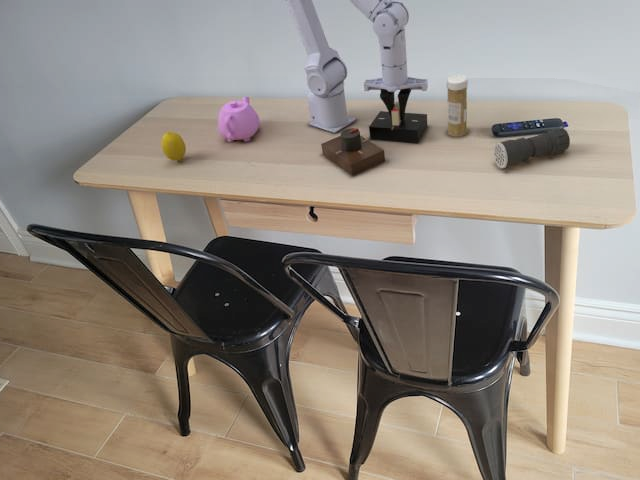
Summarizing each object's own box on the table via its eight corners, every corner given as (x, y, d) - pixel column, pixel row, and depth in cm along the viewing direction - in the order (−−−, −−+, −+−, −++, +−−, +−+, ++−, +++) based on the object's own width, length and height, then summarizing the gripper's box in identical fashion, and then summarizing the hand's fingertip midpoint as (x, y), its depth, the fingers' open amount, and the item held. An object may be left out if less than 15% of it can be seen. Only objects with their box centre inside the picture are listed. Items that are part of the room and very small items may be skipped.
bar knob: (397, 114, 139) (396, 100, 137) (403, 114, 139) (402, 100, 137) (392, 125, 136) (391, 110, 133) (399, 125, 135) (398, 110, 133)
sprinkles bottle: (471, 132, 135) (472, 77, 127) (456, 139, 134) (456, 84, 125) (457, 126, 139) (457, 72, 130) (443, 133, 137) (442, 78, 128)
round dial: (349, 153, 129) (347, 138, 127) (338, 146, 132) (336, 131, 130) (365, 146, 131) (363, 131, 128) (354, 139, 134) (352, 124, 131)
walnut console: (322, 155, 136) (320, 143, 134) (354, 141, 139) (352, 129, 137) (352, 176, 128) (350, 164, 125) (385, 161, 131) (384, 149, 128)
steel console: (369, 141, 139) (367, 127, 136) (382, 122, 145) (381, 108, 143) (416, 145, 134) (416, 131, 132) (428, 125, 141) (428, 111, 138)
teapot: (214, 148, 146) (203, 114, 140) (235, 120, 157) (226, 87, 151) (251, 148, 143) (242, 113, 137) (271, 119, 154) (263, 86, 148)
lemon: (193, 155, 144) (183, 126, 139) (182, 167, 141) (172, 138, 135) (175, 154, 146) (164, 126, 141) (163, 166, 142) (152, 137, 137)
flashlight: (556, 143, 127) (559, 121, 123) (570, 155, 123) (574, 132, 119) (492, 161, 125) (493, 138, 121) (504, 172, 121) (506, 150, 117)
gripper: (358, 70, 127) (364, 125, 136) (423, 69, 123) (425, 126, 132) (365, 57, 132) (371, 112, 141) (428, 56, 128) (430, 112, 137)
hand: (397, 118), depth 137 cm, fingers closed on bar knob, 2 cm apart
